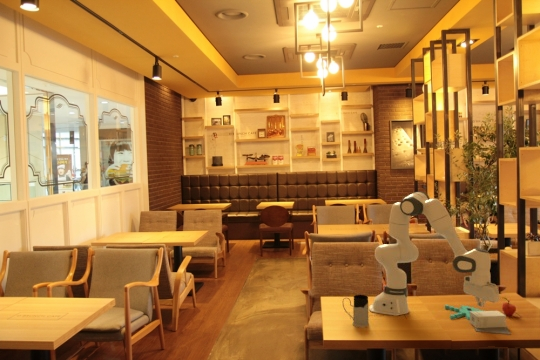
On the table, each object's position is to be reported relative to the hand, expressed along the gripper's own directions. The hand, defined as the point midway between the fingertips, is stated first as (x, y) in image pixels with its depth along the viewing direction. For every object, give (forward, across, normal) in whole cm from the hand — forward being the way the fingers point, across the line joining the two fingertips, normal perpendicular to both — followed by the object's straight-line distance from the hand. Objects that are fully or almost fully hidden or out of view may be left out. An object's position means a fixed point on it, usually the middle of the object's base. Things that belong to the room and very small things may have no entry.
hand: (480, 306), depth 245 cm
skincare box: (+7, +3, +2) cm, 8 cm away
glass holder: (+11, +32, +56) cm, 65 cm away
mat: (+11, -3, -4) cm, 12 cm away
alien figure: (+12, +18, -9) cm, 24 cm away
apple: (+11, +7, -28) cm, 32 cm away
